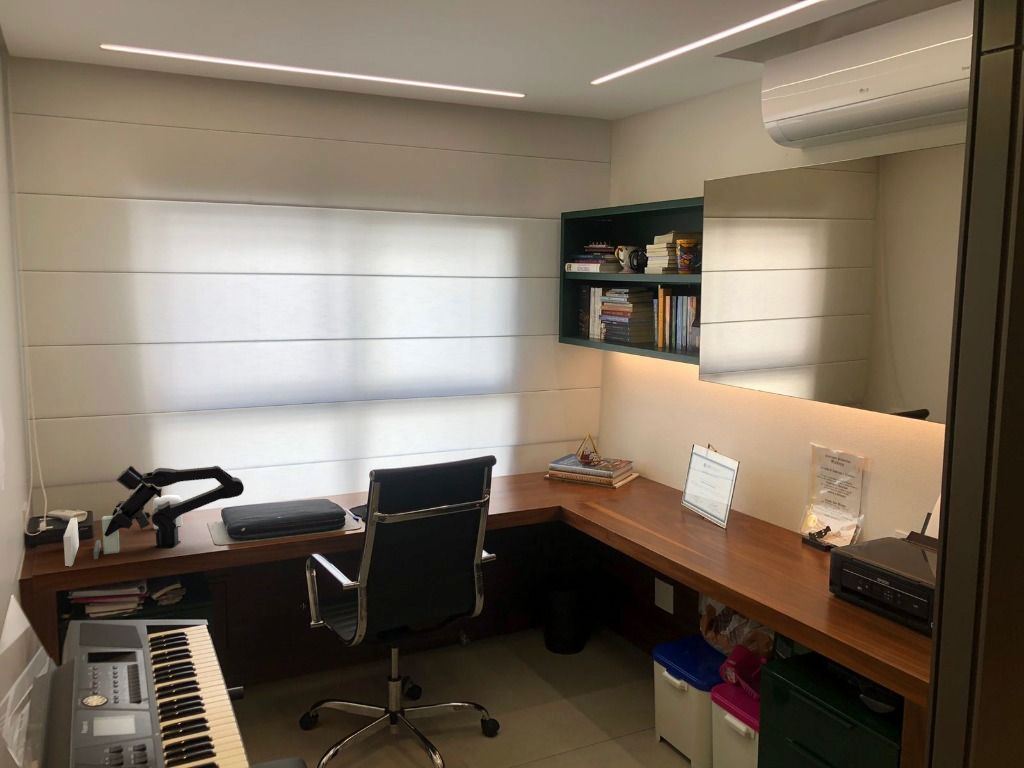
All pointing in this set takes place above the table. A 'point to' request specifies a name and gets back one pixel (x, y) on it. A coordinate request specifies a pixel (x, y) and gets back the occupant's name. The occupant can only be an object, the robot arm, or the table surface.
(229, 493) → the robot arm
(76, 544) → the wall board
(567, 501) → the table surface
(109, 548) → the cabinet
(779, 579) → the table surface
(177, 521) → the photo printer
